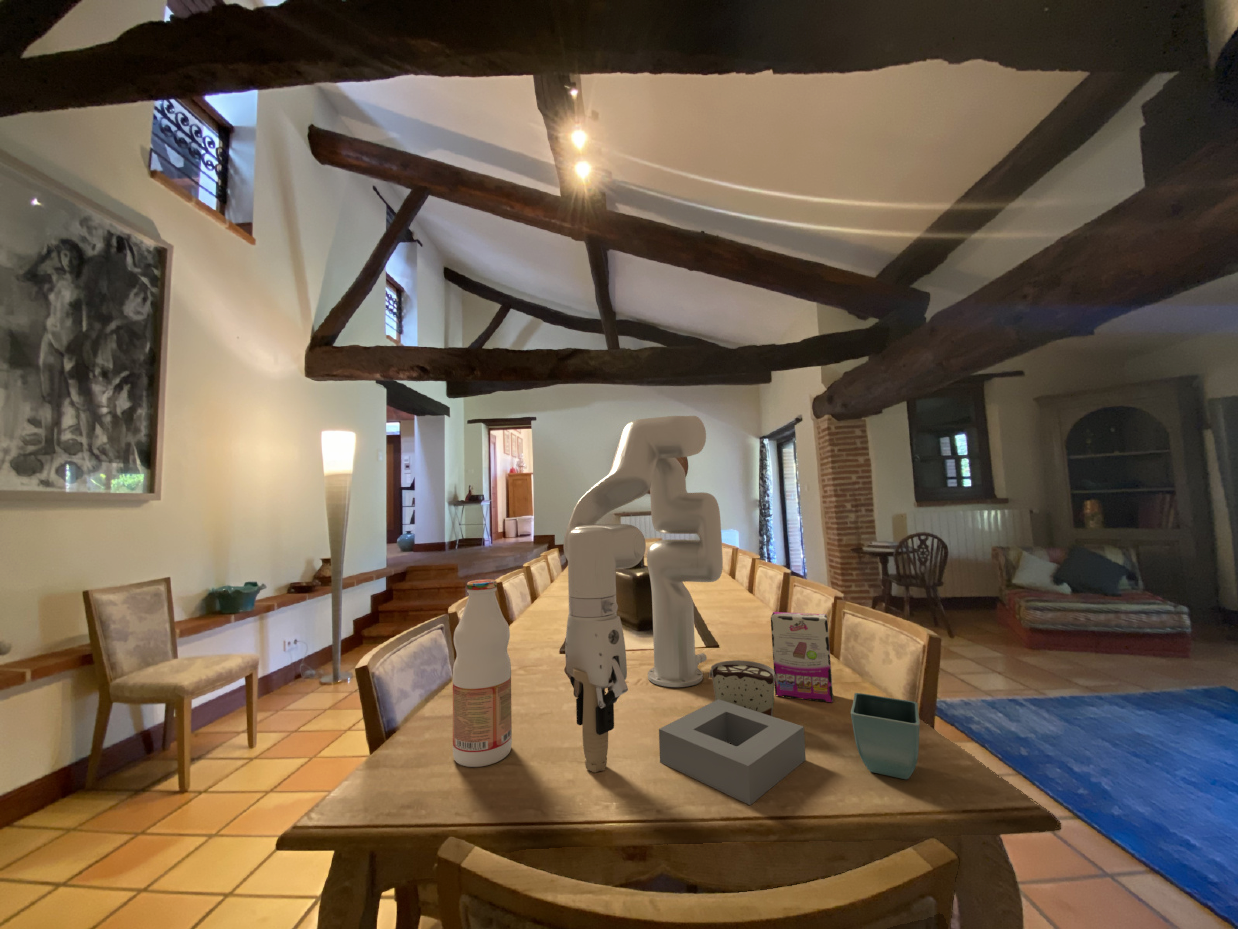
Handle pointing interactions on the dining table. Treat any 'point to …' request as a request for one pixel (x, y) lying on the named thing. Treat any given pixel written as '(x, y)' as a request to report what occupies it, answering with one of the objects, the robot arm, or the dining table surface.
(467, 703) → the fruit juice
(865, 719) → the flower pot
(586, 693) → the handle
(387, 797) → the dining table surface
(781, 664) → the candy bar box
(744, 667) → the food container
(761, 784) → the well block
